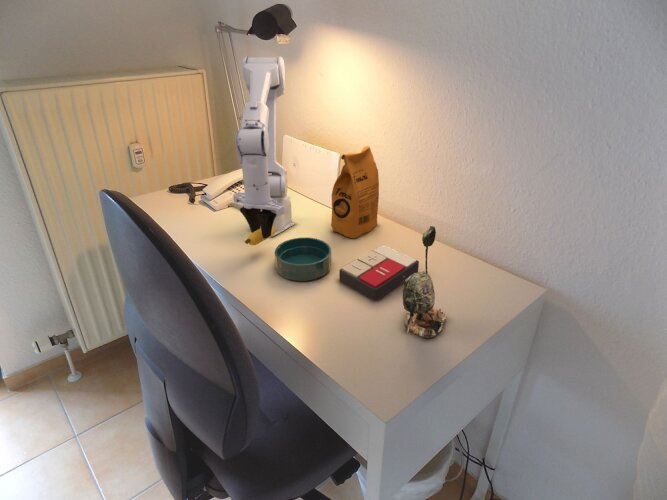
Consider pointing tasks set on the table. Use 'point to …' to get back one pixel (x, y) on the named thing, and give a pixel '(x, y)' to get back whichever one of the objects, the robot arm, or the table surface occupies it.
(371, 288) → the calculator
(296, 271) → the teal bowl
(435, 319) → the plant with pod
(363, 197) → the coffee package
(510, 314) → the table surface
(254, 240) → the amber tube
